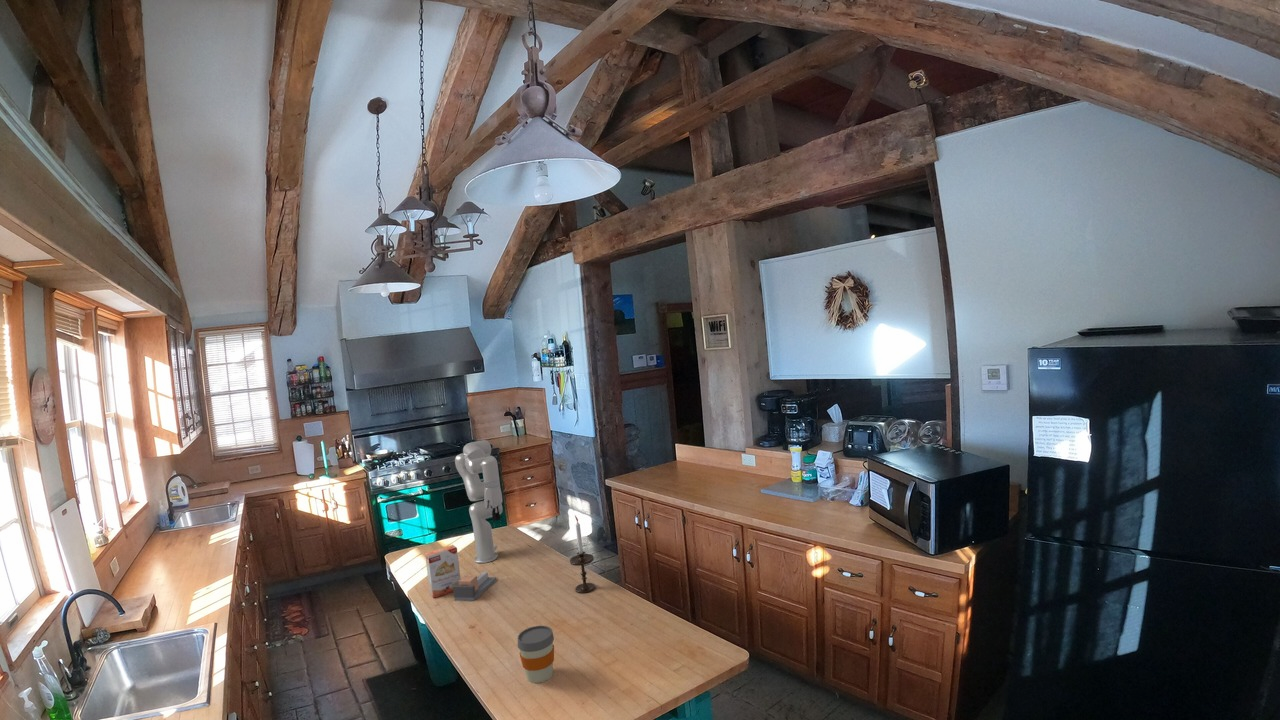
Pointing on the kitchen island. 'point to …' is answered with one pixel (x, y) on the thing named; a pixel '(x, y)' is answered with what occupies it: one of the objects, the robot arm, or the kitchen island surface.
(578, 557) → the candlestick
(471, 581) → the slider
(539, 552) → the kitchen island surface
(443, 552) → the cracker box
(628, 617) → the kitchen island surface
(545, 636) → the reusable coffee cup
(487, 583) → the track
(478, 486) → the robot arm
